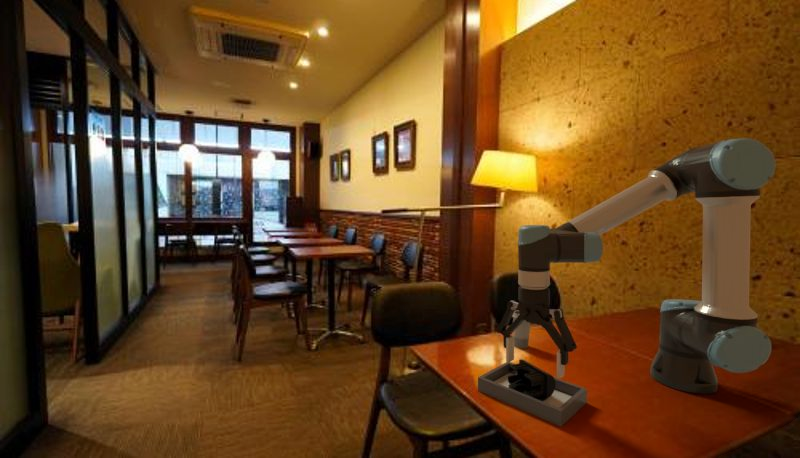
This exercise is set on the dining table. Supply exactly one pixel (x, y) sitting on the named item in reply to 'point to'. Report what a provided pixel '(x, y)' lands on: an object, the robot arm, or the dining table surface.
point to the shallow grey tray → (552, 409)
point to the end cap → (531, 380)
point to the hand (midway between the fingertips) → (534, 368)
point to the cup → (521, 332)
